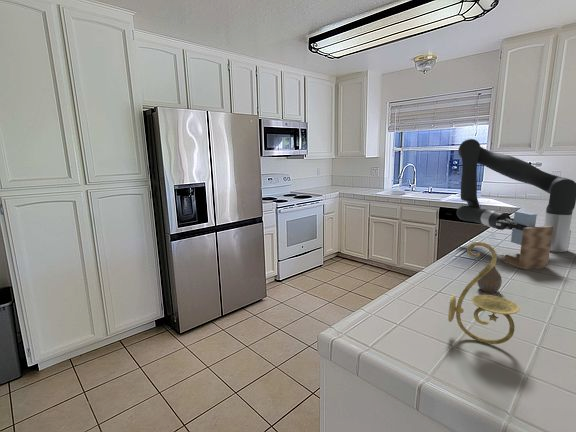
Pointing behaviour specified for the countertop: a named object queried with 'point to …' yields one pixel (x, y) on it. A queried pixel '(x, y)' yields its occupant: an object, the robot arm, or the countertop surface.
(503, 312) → the wall sconce
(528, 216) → the light blue rectangular block
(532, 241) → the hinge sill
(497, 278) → the vase
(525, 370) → the countertop surface
